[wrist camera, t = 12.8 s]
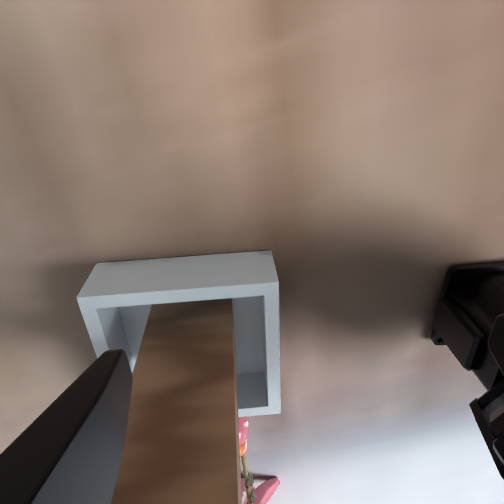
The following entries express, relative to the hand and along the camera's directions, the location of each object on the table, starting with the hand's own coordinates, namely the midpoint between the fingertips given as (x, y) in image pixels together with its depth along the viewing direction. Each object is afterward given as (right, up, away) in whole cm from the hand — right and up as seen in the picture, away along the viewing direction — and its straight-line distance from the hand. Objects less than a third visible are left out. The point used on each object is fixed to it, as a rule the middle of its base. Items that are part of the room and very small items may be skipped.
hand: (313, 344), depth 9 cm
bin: (-5, -3, +16) cm, 17 cm away
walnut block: (-5, -3, +16) cm, 17 cm away
